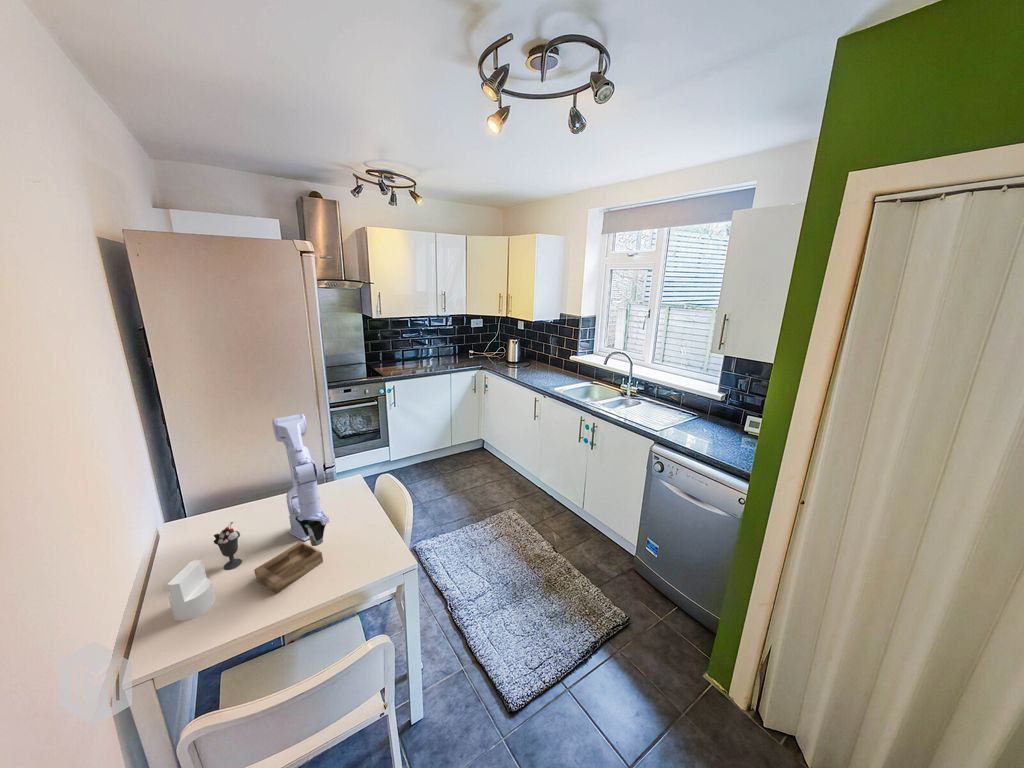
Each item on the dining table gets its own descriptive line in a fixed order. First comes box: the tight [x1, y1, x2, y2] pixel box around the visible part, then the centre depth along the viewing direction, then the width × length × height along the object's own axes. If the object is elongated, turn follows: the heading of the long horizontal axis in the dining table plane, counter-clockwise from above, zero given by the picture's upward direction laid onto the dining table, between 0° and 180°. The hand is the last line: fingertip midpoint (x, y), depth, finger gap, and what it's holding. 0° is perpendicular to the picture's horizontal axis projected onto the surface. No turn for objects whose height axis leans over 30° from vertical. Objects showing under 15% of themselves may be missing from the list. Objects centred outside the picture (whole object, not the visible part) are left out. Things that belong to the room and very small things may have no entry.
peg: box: [305, 520, 324, 547], centre depth 121 cm, size 5×5×8 cm
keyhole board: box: [253, 540, 324, 594], centre depth 119 cm, size 11×15×4 cm
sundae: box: [213, 521, 243, 571], centre depth 120 cm, size 7×7×15 cm
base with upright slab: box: [167, 559, 216, 622], centre depth 104 cm, size 9×9×12 cm
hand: (314, 536), depth 122 cm, fingers closed on peg, 4 cm apart
